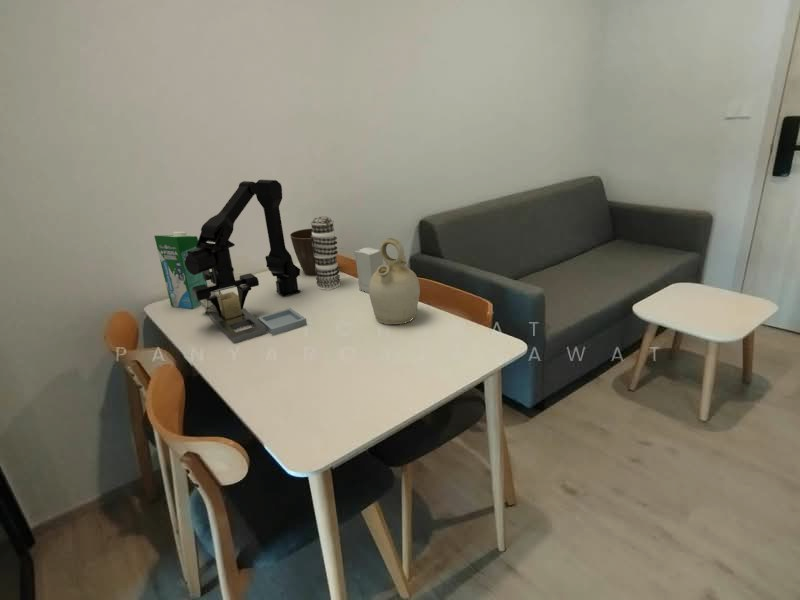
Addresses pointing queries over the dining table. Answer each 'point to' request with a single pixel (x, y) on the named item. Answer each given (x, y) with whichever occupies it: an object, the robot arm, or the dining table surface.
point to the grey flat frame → (235, 323)
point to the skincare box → (367, 265)
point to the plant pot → (304, 250)
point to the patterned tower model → (325, 253)
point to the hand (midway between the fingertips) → (230, 312)
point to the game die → (209, 303)
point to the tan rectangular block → (229, 306)
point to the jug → (394, 288)
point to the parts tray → (282, 321)
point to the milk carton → (178, 268)
